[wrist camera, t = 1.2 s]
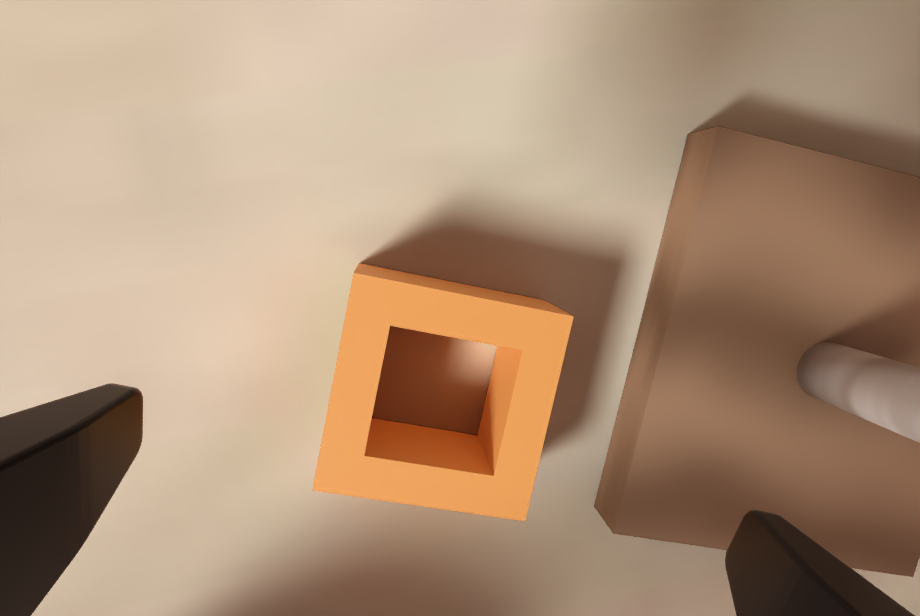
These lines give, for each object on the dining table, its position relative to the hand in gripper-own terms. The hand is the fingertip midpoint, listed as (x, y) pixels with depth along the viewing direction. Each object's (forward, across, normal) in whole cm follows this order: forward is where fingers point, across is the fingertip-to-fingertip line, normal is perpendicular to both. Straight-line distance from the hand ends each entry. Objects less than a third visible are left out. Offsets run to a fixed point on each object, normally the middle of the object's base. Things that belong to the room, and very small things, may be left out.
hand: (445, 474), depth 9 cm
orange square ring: (+12, 0, +5) cm, 13 cm away
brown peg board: (+14, -13, +2) cm, 19 cm away
